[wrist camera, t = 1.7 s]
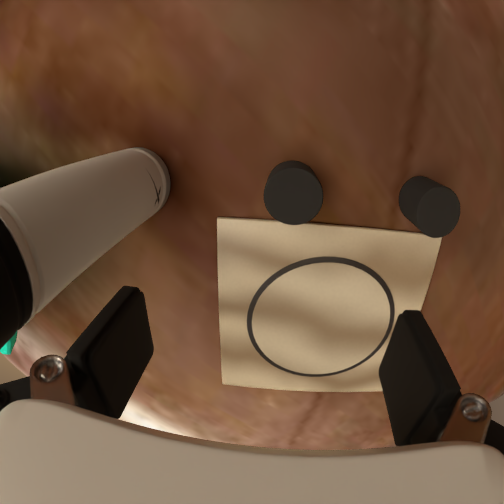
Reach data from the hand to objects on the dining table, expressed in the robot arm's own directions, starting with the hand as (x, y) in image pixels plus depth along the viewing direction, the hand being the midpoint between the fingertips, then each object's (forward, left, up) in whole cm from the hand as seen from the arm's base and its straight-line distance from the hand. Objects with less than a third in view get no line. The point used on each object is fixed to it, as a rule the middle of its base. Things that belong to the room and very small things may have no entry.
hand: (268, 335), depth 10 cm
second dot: (-2, +12, -16) cm, 20 cm away
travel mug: (-2, -12, -16) cm, 20 cm away
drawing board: (+11, +5, -16) cm, 20 cm away
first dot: (-2, +1, -16) cm, 16 cm away
